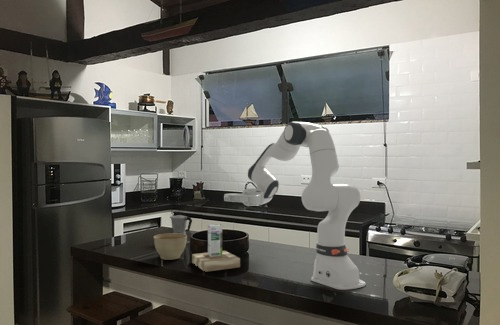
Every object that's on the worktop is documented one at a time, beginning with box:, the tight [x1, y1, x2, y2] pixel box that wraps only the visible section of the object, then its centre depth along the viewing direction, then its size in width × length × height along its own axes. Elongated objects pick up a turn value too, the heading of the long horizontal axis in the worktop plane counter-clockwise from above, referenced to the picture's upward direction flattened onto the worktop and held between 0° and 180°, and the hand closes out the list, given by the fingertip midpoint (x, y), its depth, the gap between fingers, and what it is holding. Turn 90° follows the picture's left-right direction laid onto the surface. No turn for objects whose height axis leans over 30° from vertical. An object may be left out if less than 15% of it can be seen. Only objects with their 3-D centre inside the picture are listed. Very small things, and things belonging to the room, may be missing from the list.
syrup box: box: [207, 223, 223, 257], centre depth 193 cm, size 6×6×14 cm
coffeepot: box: [169, 211, 193, 243], centre depth 239 cm, size 15×9×18 cm, turn 62°
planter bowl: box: [153, 232, 188, 261], centre depth 205 cm, size 16×16×11 cm
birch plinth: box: [191, 250, 241, 273], centre depth 192 cm, size 17×17×4 cm
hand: (232, 199), depth 201 cm, fingers open, 8 cm apart
